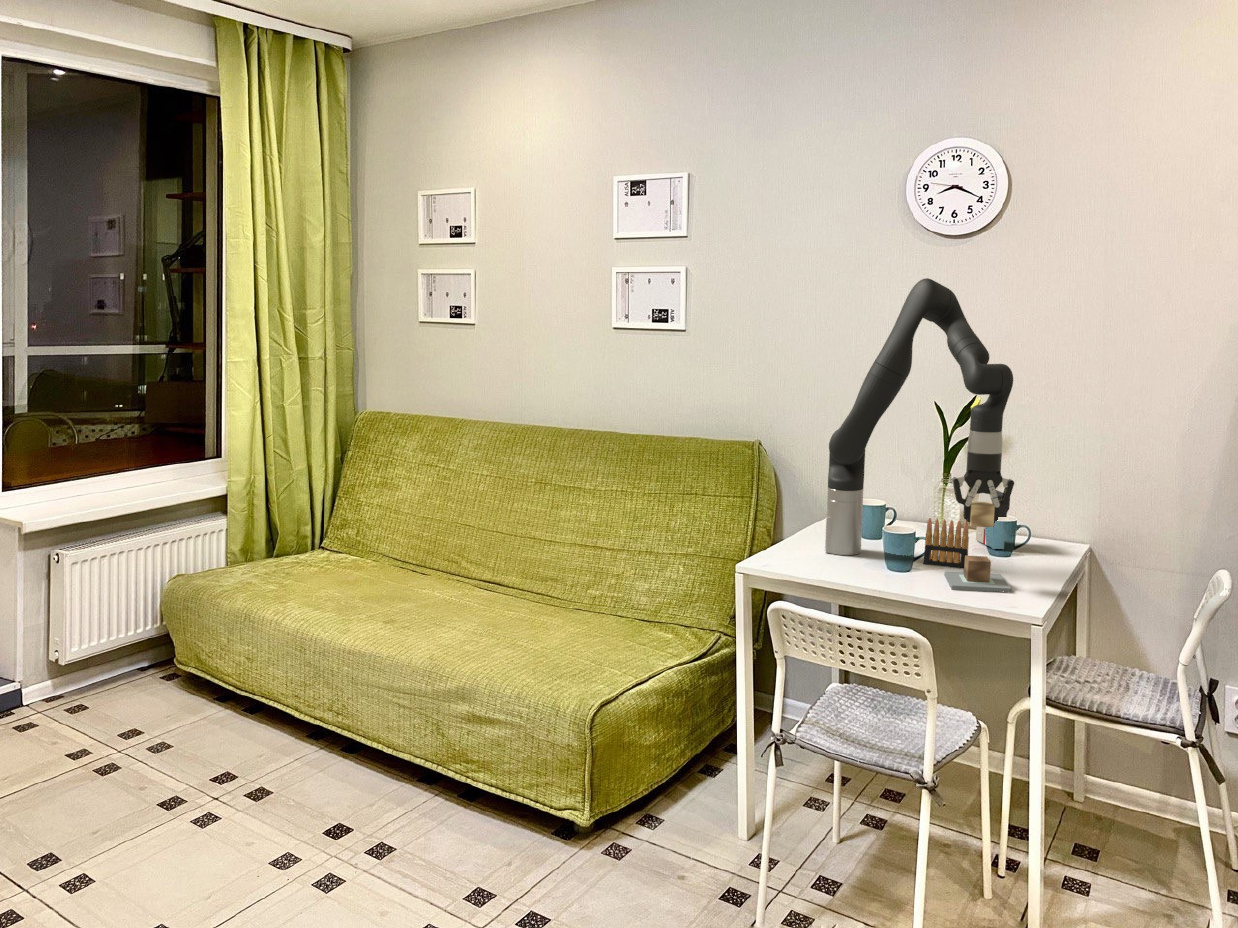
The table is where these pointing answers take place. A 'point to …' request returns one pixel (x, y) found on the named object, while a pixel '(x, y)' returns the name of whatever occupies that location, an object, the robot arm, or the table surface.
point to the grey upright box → (1002, 513)
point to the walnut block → (977, 569)
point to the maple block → (982, 514)
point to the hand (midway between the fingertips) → (980, 521)
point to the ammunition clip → (946, 545)
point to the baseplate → (976, 583)
